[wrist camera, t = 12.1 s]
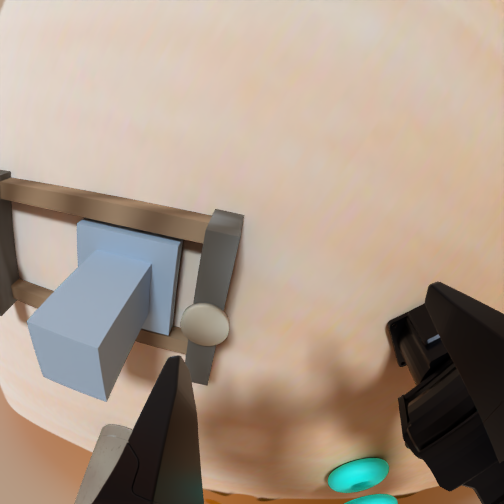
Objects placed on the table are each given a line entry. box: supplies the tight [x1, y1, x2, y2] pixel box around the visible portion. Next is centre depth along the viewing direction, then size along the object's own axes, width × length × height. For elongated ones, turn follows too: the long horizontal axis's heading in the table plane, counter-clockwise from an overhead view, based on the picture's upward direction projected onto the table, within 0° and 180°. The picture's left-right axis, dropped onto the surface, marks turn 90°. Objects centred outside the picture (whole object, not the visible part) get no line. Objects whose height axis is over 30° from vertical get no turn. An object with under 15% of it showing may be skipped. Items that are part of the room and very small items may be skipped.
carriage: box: [27, 218, 183, 402], centre depth 18 cm, size 8×8×10 cm
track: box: [0, 170, 244, 385], centre depth 21 cm, size 24×13×5 cm, turn 77°
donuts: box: [328, 458, 398, 504], centre depth 33 cm, size 10×10×10 cm
